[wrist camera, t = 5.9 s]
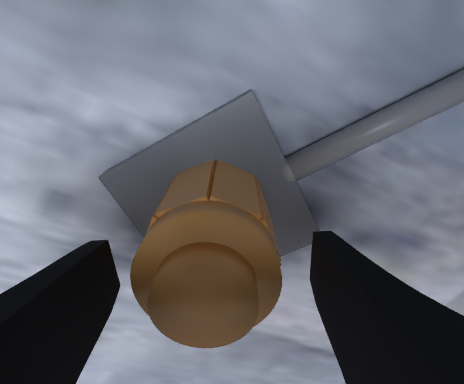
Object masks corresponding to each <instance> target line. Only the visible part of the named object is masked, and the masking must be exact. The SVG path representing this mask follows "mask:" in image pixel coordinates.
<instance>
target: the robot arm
mask: <svg viewBox="0 0 464 384" xmlns="http://www.w3.org/2000/svg"><path fill="white" fill-rule="evenodd" d="M310 282H311V286H312V290H313V294H314V298H315V302H316V306H317V308H318V311H319V314H320V316H321V319H322V322H323V324H324V327H325V330H326V332H327V335H328V337H329V340H330V342H331V345H332V348H333V350H334V353H335V355H336V358H337V360H338V363H339V366H340V368H341V371H342V374H343V377H344V380H345V383H346V384H464V316H463V315H461V314H459V313H457V312H455V311H453V310H451V309H449V308H447V307H446V306H444V305H442V304H440V303H438V302H437V301H435V300H433V299H431V298H429V297H428V296H426V295H424V294H422V293H420V292H419V291H417V290H415V289H414V288H412V287H410V286H409V285H407V284H405V283H404V282H402V281H401V280H399V279H398V278H396V277H395V276H393V275H391V274H390V273H388V272H387V271H385V270H384V269H383V268H381V267H380V266H378V265H377V264H375V263H374V262H372V261H371V260H370V259H368V258H367V257H366V256H364V255H363V254H361V253H360V252H359V251H357V250H356V249H355V248H353V247H352V246H351V245H349V244H348V243H347V242H345V241H344V240H343V239H342V238H340V237H339V236H338V235H336V234H335V233H333V232H332V231H314V232H313V238H312V253H311V268H310ZM119 288H120V282H119V278H118V275H117V271H116V267H115V264H114V260H113V256H112V253H111V249H110V245H109V242H108V240H98V241H90V242H88V243H86V244H84V245H82V246H80V247H78V248H77V249H75V250H73V251H72V252H70V253H68V254H67V255H65V256H63V257H62V258H60V259H59V260H57V261H55V262H54V263H52V264H50V265H49V266H47V267H46V268H44V269H42V270H41V271H39V272H37V273H36V274H34V275H32V276H31V277H29V278H27V279H26V280H24V281H22V282H20V283H19V284H17V285H15V286H13V287H12V288H10V289H8V290H7V291H5V292H3V293H1V294H0V384H76V382H77V380H78V378H79V376H80V374H81V372H82V370H83V368H84V366H85V364H86V362H87V360H88V358H89V356H90V354H91V352H92V350H93V348H94V346H95V344H96V342H97V340H98V338H99V336H100V334H101V332H102V330H103V328H104V326H105V324H106V322H107V320H108V318H109V316H110V314H111V312H112V309H113V306H114V303H115V301H116V298H117V295H118V292H119Z"/></svg>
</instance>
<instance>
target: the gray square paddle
mask: <svg viewBox="0 0 464 384" xmlns="http://www.w3.org/2000/svg"><path fill="white" fill-rule="evenodd" d="M463 101H464V69H463V70H461V71H459V72H457V73H455V74H453V75H451V76H449V77H447V78H445V79H443V80H441V81H439V82H437V83H435V84H433V85H431V86H429V87H427V88H425V89H423V90H421V91H419V92H417V93H415V94H413V95H411V96H409V97H407V98H405V99H403V100H401V101H399V102H397V103H395V104H393V105H391V106H389V107H387V108H385V109H382V110H380V111H378V112H376V113H374V114H372V115H370V116H368V117H366V118H364V119H362V120H360V121H358V122H356V123H354V124H352V125H350V126H348V127H346V128H344V129H342V130H340V131H338V132H336V133H334V134H332V135H330V136H328V137H326V138H324V139H322V140H320V141H318V142H316V143H314V144H312V145H310V146H308V147H306V148H304V149H302V150H300V151H298V152H296V153H294V154H292V155H290V156H288V157H286V158H285V157H284V155H283V153H282V151H281V149H280V147H279V145H278V143H277V141H276V139H275V137H274V134H273V132H272V130H271V128H270V126H269V124H268V122H267V120H266V118H265V116H264V114H263V112H262V110H261V107H260V105H259V103H258V101H257V99H256V97H255V95H254V93H253V91H252V90H249V91H247V92H245V93H244V94H242V95H240V96H238V97H236V98H235V99H233V100H231V101H229V102H227V103H226V104H224V105H222V106H220V107H219V108H217V109H215V110H213V111H211V112H210V113H208V114H206V115H204V116H203V117H201V118H199V119H197V120H195V121H194V122H192V123H190V124H188V125H187V126H185V127H183V128H181V129H179V130H178V131H176V132H174V133H172V134H170V135H169V136H167V137H165V138H163V139H162V140H160V141H158V142H156V143H154V144H153V145H151V146H149V147H147V148H146V149H144V150H142V151H140V152H138V153H137V154H135V155H133V156H131V157H130V158H128V159H126V160H124V161H122V162H121V163H119V164H117V165H115V166H114V167H112V168H110V169H108V170H106V171H105V172H104V173H103V174H102V175H100V176H99V177H98V178H99V179H100V181H101V182H102V183H103V185H104V186H105V187H106V189H107V190H108V191H109V192H110V194H111V195H112V196H113V198H114V199H115V200H116V201H117V203H118V204H119V205H120V207H121V208H122V209H123V211H124V212H125V213H126V214H127V216H128V217H129V218H130V220H131V221H132V222H133V224H134V225H135V226H136V227H137V229H138V230H139V231H140V233H141V234H142V235H143V237H145V235H146V233H147V230H148V227H149V225H150V222H151V219H152V217H153V215H154V213H155V211H156V209H157V207H158V206H159V204H160V202H161V200H162V198H163V197H164V195H165V193H166V191H167V189H168V187H169V186H170V184H171V182H172V180H173V178H174V176H175V175H177V173H179V172H181V171H184V170H187V169H189V168H192V167H194V166H197V165H200V164H202V163H205V162H208V161H210V160H213V159H214V161H215V163H216V162H217V160H221V161H223V162H225V163H228V164H230V165H233V166H235V167H237V168H240V169H242V170H244V171H247V172H249V173H252V174H254V178H255V177H257V180H258V183H259V185H260V188H261V190H262V193H263V196H264V198H265V201H266V204H267V206H268V209H269V213H270V217H271V221H272V225H273V229H274V233H275V237H276V241H277V245H278V249H279V253H280V256H283V255H285V254H287V253H290V252H292V251H295V250H297V249H299V248H302V247H304V246H306V245H309V244H311V243H312V238H313V232H314V231H320V230H319V228H318V226H317V224H316V222H315V220H314V218H313V216H312V213H311V211H310V209H309V207H308V205H307V203H306V201H305V199H304V197H303V195H302V193H301V191H300V188H299V186H298V184H297V182H296V181H297V180H299V179H301V178H303V177H305V176H307V175H310V174H312V173H314V172H316V171H318V170H320V169H322V168H324V167H326V166H328V165H331V164H333V163H335V162H337V161H339V160H341V159H343V158H345V157H347V156H350V155H352V154H354V153H356V152H358V151H360V150H362V149H364V148H366V147H368V146H371V145H373V144H375V143H377V142H379V141H381V140H383V139H385V138H387V137H389V136H392V135H394V134H396V133H398V132H400V131H402V130H404V129H406V128H408V127H411V126H413V125H415V124H417V123H419V122H421V121H423V120H425V119H427V118H429V117H432V116H434V115H436V114H438V113H440V112H442V111H444V110H446V109H448V108H450V107H453V106H455V105H457V104H459V103H461V102H463Z"/></svg>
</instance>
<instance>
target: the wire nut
mask: <svg viewBox="0 0 464 384" xmlns="http://www.w3.org/2000/svg"><path fill="white" fill-rule="evenodd" d="M280 261H281V258H280V253H279V249H278V245H277V241H276V237H275V233H274V229H273V225H272V221H271V217H270V213H269V209H268V206H267V204H266V201H265V198H264V196H263V193H262V190H261V188H260V185H259V183H258V180H257V177H255V178H254V174H252V173H249V172H247V171H244V170H242V169H240V168H237V167H235V166H233V165H230V164H228V163H225V162H223V161H221V160H217V162H216V163H215V161H214V159H213V160H210V161H208V162H205V163H202V164H200V165H197V166H194V167H192V168H189V169H187V170H184V171H181V172H179V173H177V175H175V176H174V178H173V180H172V182H171V184H170V186H169V187H168V189H167V191H166V193H165V195H164V197H163V198H162V200H161V202H160V204H159V206H158V207H157V209H156V211H155V213H154V215H153V217H152V219H151V222H150V225H149V227H148V230H147V233H146V235H145V237H144V239H143V241H142V243H141V245H140V247H139V249H138V250H137V252H136V255H135V257H134V259H133V262H132V266H131V273H130V278H131V286H132V290H133V293H134V295H135V298H136V300H137V301H138V303H139V305H140V306H141V307H142V309H143V310H144V311H145V312H146V313H147V314H148V315H149V316H150V319H151V320H152V322H153V324H154V325H155V326H156V328H157V329H158V330H159V331H160V332H161V333H163V334H164V335H165V336H167V337H168V338H170V339H171V340H173V341H176V342H178V343H180V344H183V345H187V346H190V347H197V348H214V347H220V346H225V345H228V344H231V343H233V342H235V341H237V340H239V339H241V338H242V337H243V336H245V335H246V334H247V333H248V332H249V331H250V330H251V329H252V327H254V326H255V325H257V324H258V323H260V322H261V321H262V320H263V319H264V318H266V317H267V316H268V315H269V313H270V312H271V311H272V309H273V308H274V306H275V305H276V303H277V301H278V298H279V296H280V292H281V287H282V275H281V269H280V265H281V263H280Z"/></svg>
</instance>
